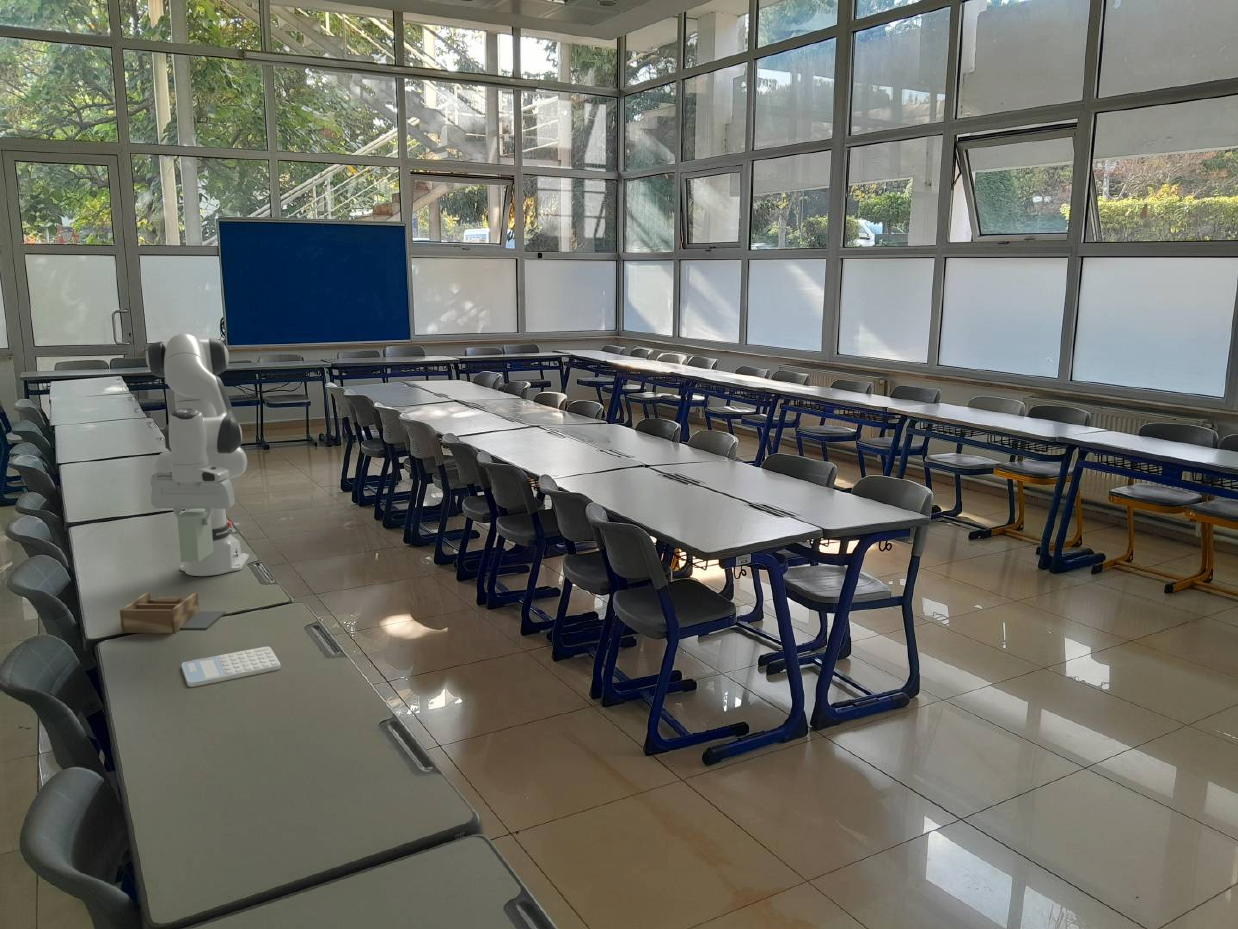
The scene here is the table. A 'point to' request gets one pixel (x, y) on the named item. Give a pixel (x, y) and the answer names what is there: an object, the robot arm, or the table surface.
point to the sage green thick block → (194, 536)
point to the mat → (203, 620)
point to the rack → (157, 615)
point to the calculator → (229, 666)
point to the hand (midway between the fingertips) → (195, 524)
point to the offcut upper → (168, 600)
